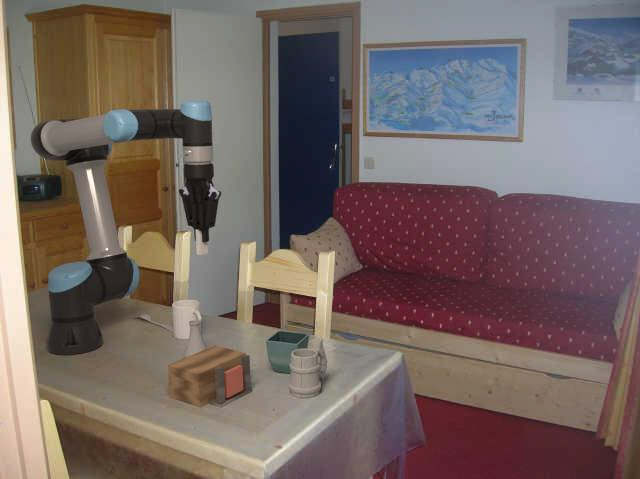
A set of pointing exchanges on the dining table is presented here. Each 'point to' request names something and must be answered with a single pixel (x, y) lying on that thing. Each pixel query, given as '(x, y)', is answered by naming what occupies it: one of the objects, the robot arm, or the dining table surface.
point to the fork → (155, 322)
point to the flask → (194, 339)
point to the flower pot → (284, 348)
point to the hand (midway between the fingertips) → (202, 253)
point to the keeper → (233, 381)
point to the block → (207, 376)
